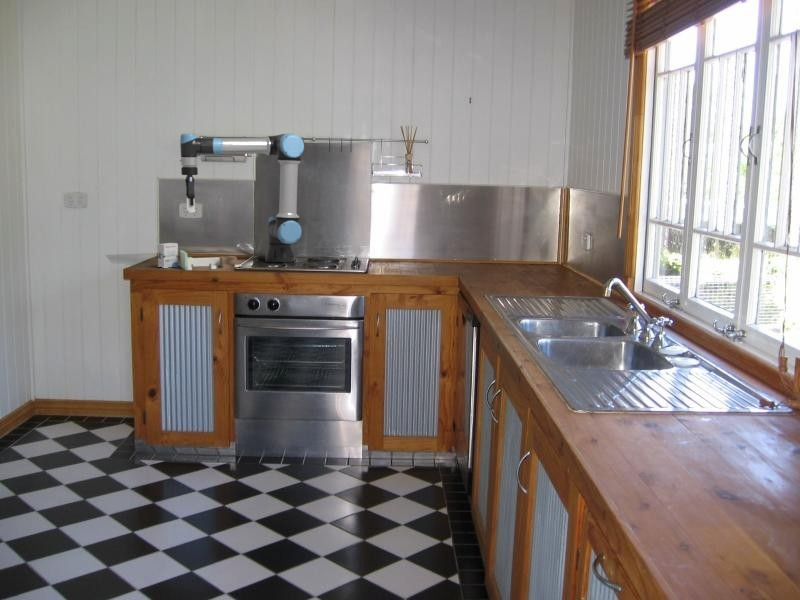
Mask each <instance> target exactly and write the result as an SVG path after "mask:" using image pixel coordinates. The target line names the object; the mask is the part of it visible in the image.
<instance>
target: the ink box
mask: <svg viewBox="0 0 800 600" xmlns="http://www.w3.org/2000/svg"><path fill="white" fill-rule="evenodd" d="M178 244H179V243H177V242H168V243H167V242H165V243H157V267H162V268H168V267H176V268H179V248H178V247H179V245H178ZM162 268H161V269H162ZM168 269H169V268H168Z"/></svg>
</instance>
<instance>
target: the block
mask: <svg viewBox="0 0 800 600" xmlns="http://www.w3.org/2000/svg"><path fill="white" fill-rule="evenodd" d="M219 257H220V266H219V267H220V268H222V269H225V268H228V269H229V268H233V263H235V265H238V257H236V256H235V255H225V256H224V255H223V256H222V255H221V256H219Z"/></svg>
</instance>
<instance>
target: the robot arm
mask: <svg viewBox="0 0 800 600" xmlns="http://www.w3.org/2000/svg"><path fill="white" fill-rule="evenodd" d="M303 140H304V139H302V138H301V137H300V136H299V135H298V134H295V133H281V134H278V135H267V136H264V137H263V138H262V137H256V138H255V137H253V138H252V137H251V138H250V137H248V138H247V137H245V138H244V137H243V138H242V137H241V138H237V137H236V138H235V137H234V138H233V137H232V138H231V137H228V138H221V137H220V138H219V137H197V134H196V133H181V134H180V141H179V143H180V147H179V148H180V159H179V162H180V164H181V172H180V173H181V175H182V176H186V177H185V180H184V181H185V196H186V211H187V212H189V213H191V214H192V213H196V202H195V201H196V200H195V197H196V195H195V193H196V192H195V179H194V176H197V175H198V174H199V173H198V172H199V171H198V170H199V169H198V166H199V165H198V155H221V154H222V155H223V154H224V155H226V154H227V155H228V154H230V155H232V154H233V155H234V154H241V155H243V154H244V155H245V154H251V155H252V154H265V155H266V156H275V157H277V162H278V163H279V164H280V167H279V170H280V171H279V173H280V174H279V203H278V204H279V206H278V207H279V208H278V213H277V215H275V216H270V217H269V218H268V222H267V225H268V248H267V251H266V254H265V262H267V263H276V262H283V263H294V262H295V261H296V256H295V253H294V250H293V246H292V244H295V243H296V242H298V241H299V240H300V238H301V237H302V227H301V225H300V216H299V215H298V214H297V211H298V207H297V206H298V205H297V204H298V179H299V177H298V173H299V171H298V170H299V164H300V163H301V162H302V154H303V152H304V150H305V144H304V141H303ZM293 261H294V262H293Z"/></svg>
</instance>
